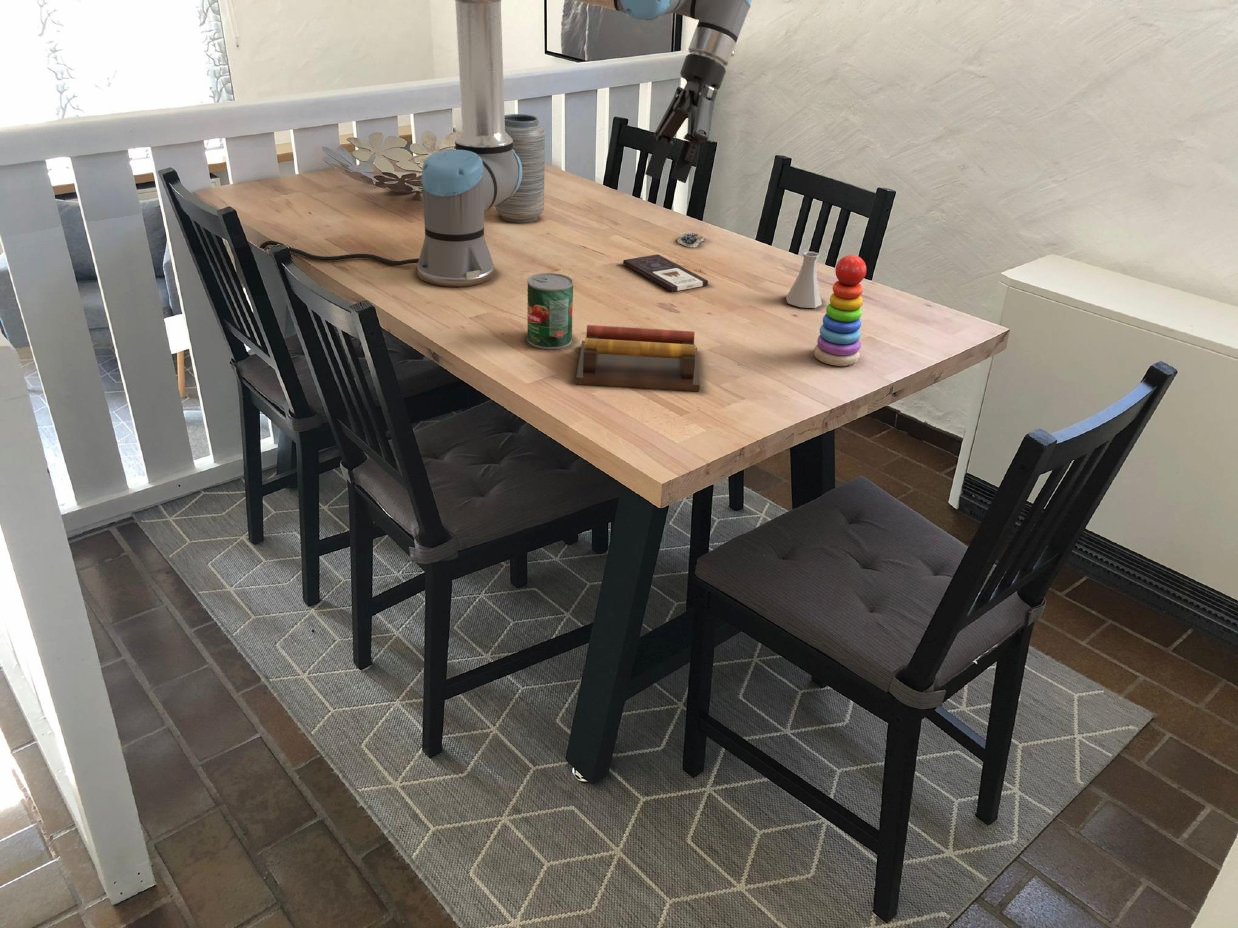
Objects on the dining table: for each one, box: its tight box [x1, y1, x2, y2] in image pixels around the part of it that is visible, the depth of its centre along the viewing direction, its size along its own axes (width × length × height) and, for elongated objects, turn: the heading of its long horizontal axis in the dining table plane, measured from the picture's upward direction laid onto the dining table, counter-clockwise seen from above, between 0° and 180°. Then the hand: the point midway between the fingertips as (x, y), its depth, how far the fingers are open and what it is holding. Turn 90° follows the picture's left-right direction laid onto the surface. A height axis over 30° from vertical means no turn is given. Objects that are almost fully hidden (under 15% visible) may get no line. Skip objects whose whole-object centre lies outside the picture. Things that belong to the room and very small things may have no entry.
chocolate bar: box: [622, 253, 709, 293], centre depth 205 cm, size 9×1×18 cm
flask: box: [785, 250, 823, 309], centre depth 194 cm, size 7×7×10 cm
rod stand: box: [575, 324, 701, 392], centre depth 164 cm, size 20×15×6 cm
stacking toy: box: [813, 254, 867, 367], centre depth 168 cm, size 8×8×19 cm
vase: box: [494, 113, 546, 224], centre depth 229 cm, size 12×12×23 cm
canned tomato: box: [526, 272, 574, 350], centre depth 171 cm, size 8×8×11 cm
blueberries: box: [676, 232, 707, 248], centre depth 225 cm, size 7×8×2 cm
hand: (664, 178), depth 177 cm, fingers open, 13 cm apart
